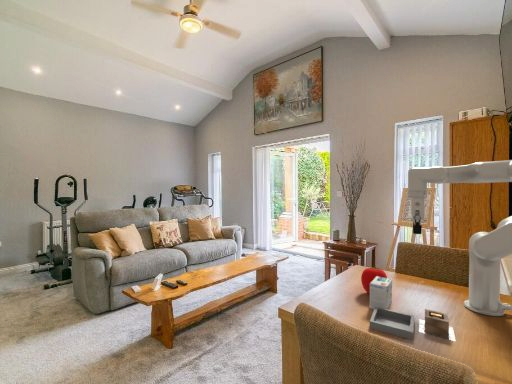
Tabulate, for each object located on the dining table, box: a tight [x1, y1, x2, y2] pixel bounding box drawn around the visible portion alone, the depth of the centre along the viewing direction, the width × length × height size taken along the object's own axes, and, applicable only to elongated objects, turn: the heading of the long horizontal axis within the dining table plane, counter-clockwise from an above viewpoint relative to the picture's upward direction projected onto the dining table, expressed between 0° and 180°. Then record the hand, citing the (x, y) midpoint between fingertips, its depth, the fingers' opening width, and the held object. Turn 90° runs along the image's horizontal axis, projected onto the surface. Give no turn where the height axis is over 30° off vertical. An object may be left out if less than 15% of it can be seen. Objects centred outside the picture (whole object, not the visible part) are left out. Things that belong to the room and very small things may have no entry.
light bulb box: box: [369, 276, 393, 310], centre depth 110 cm, size 11×7×11 cm, turn 142°
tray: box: [369, 307, 415, 341], centre depth 93 cm, size 13×13×4 cm
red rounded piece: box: [360, 266, 388, 295], centre depth 121 cm, size 11×11×13 cm
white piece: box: [418, 313, 456, 342], centre depth 90 cm, size 10×10×6 cm
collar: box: [424, 308, 450, 337], centre depth 90 cm, size 7×7×5 cm
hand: (417, 232), depth 119 cm, fingers open, 9 cm apart
